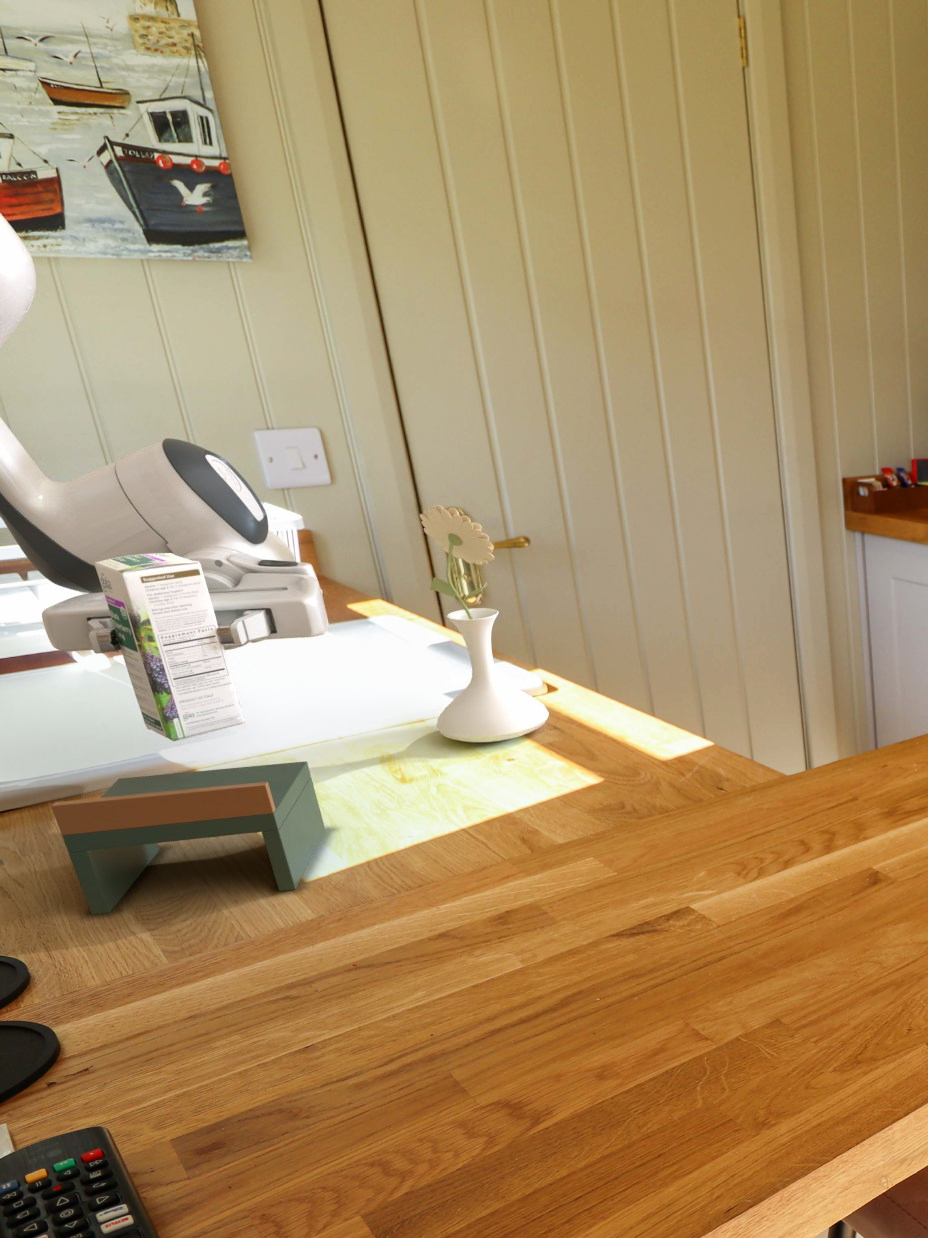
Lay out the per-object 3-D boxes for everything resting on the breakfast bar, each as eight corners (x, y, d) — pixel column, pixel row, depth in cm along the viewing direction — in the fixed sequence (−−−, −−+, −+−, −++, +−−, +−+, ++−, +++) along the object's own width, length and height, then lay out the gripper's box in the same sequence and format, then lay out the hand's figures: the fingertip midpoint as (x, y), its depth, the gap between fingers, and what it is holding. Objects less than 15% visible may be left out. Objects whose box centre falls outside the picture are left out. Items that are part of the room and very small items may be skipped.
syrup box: (143, 728, 99) (86, 560, 93) (220, 710, 104) (171, 548, 98) (172, 743, 97) (116, 570, 90) (250, 723, 101) (201, 558, 95)
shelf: (91, 915, 92) (50, 805, 88) (143, 851, 102) (109, 751, 98) (295, 890, 96) (265, 785, 92) (326, 831, 106) (300, 734, 102)
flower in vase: (570, 732, 131) (532, 508, 121) (468, 759, 123) (419, 522, 113) (513, 706, 138) (474, 493, 128) (414, 730, 130) (363, 505, 120)
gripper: (67, 572, 103) (-2, 610, 91) (330, 561, 110) (297, 595, 98) (90, 640, 106) (26, 686, 94) (346, 626, 113) (315, 667, 101)
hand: (167, 640), depth 96 cm, fingers closed on syrup box, 7 cm apart
